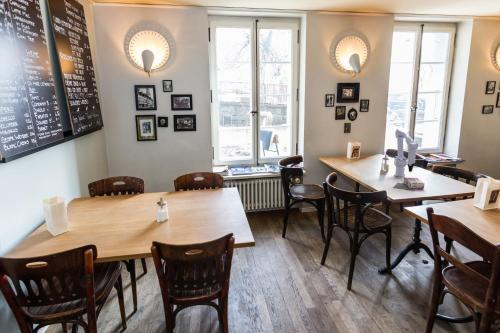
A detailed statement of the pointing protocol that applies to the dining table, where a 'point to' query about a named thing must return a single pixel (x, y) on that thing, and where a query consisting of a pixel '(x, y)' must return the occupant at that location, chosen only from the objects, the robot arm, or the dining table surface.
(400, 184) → the mat
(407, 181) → the candy bar box
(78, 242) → the dining table surface
